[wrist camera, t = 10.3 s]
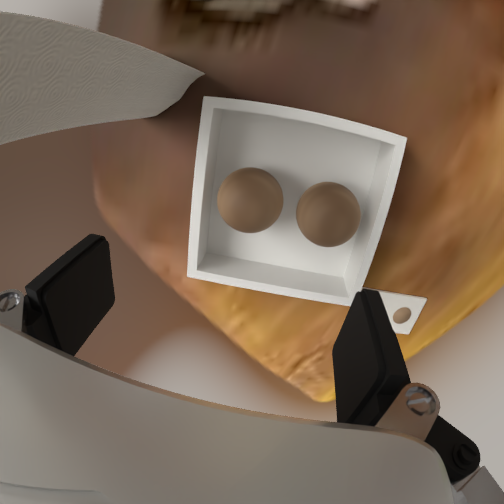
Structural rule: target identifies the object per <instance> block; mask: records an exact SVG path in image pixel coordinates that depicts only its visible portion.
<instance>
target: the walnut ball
mask: <svg viewBox="0 0 504 504" xmlns="http://www.w3.org/2000/svg"><path fill="white" fill-rule="evenodd" d="M217 206H218V210H219V213H220V215H221V217H222V218H223V220H224V221H225V222H226V223H227V224H228V225H229V226H230V227H232V228H233V229H235V230H237V231H240V232H243V233H257V232H261V231H263V230H266V229H267V228H269V227H270V226H272V225H273V224H274V223H275V222H276V220H277V219H278V218H279V216H280V214H281V211H282V208H283V192H282V189H281V187H280V184H279V183H278V181H277V180H276V179H275V178H274V177H273V176H272V175H271V174H270V173H268V172H266V171H265V170H262V169H259V168H254V167H246V168H241V169H238V170H236V171H234V172H232V173H231V174H230V175H228V176H227V177H226V178H225V179H224V181H223V182H222V184H221V186H220V188H219V191H218V195H217Z"/></svg>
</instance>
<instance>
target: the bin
mask: <svg viewBox="0 0 504 504" xmlns="http://www.w3.org/2000/svg"><path fill="white" fill-rule="evenodd" d="M406 141H407V138H406V137H403V136H400V135H397V134H394V133H391V132H388V131H384V130H381V129H378V128H375V127H371V126H368V125H364V124H361V123H357V122H353V121H349V120H346V119H342V118H338V117H334V116H329V115H325V114H321V113H316V112H311V111H307V110H302V109H296V108H291V107H286V106H280V105H274V104H268V103H261V102H254V101H247V100H239V99H230V98H221V97H210V96H204V98H203V105H202V112H201V120H200V127H199V136H198V144H197V153H196V162H195V172H194V183H193V194H192V206H191V219H190V233H189V249H188V269H187V277H191V278H196V279H201V280H206V281H211V282H216V283H221V284H226V285H231V286H236V287H242V288H247V289H252V290H258V291H263V292H269V293H274V294H280V295H285V296H291V297H297V298H303V299H309V300H315V301H321V302H327V303H333V304H339V305H345V306H351V304H352V302H353V299H354V297H355V294H356V293H357V292H358V291H359V292H360V291H361V289H362V286H363V284H364V281H365V278H366V276H367V273H368V270H369V268H370V265H371V262H372V259H373V256H374V254H375V251H376V248H377V245H378V242H379V239H380V236H381V233H382V230H383V226H384V223H385V220H386V217H387V213H388V210H389V207H390V203H391V200H392V196H393V193H394V189H395V186H396V182H397V178H398V174H399V170H400V166H401V162H402V158H403V154H404V150H405V145H406ZM246 167H254V168H259V169H262V170H265V171H266V172H268V173H270V174H271V175H272V176H273V177H274V178H275V179H276V180H277V181H278V183H279V184H280V187H281V189H282V192H283V208H282V211H281V214H280V216H279V218H278V219H277V220H276V222H275V223H274V224H273V225H272V226H270V227H269V228H267V229H266V230H263V231H261V232H257V233H243V232H240V231H237V230H235V229H233V228H232V227H230V226H229V225H228V224H227V223H226V222H225V221H224V220H223V218H222V217H221V215H220V213H219V210H218V206H217V195H218V191H219V188H220V186H221V184H222V182H223V181H224V179H225V178H226V177H227V176H228V175H230V174H231V173H232V172H234V171H236V170H238V169H241V168H246ZM321 182H335V183H338V184H341V185H343V186H345V187H346V188H348V189H349V190H350V191H351V192H352V193H353V194H354V196H355V197H356V199H357V201H358V203H359V206H360V212H361V219H360V224H359V227H358V229H357V231H356V233H355V234H354V235H353V237H352V238H351V239H350V240H348V241H347V242H345V243H344V244H342V245H339V246H335V247H322V246H318V245H316V244H314V243H312V242H311V241H309V240H308V239H307V238H306V237H305V236H304V235H303V234H302V232H301V231H300V229H299V227H298V224H297V220H296V208H297V204H298V201H299V199H300V197H301V196H302V194H303V193H304V192H305V191H306V190H307V189H308V188H310V187H311V186H313V185H315V184H317V183H321Z"/></svg>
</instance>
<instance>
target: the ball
mask: <svg viewBox="0 0 504 504" xmlns="http://www.w3.org/2000/svg"><path fill="white" fill-rule="evenodd" d="M360 219H361V212H360V206H359V203H358V201H357V199H356V197H355V196H354V194H353V193H352V192H351V191H350V190H349V189H348V188H346V187H345V186H343V185H341V184H338V183H335V182H321V183H317V184H315V185H313V186H311V187H310V188H308V189H307V190H306V191H305V192H304V193H303V194H302V196H301V197H300V199H299V201H298V204H297V208H296V220H297V224H298V227H299V229H300V231H301V232H302V234H303V235H304V236H305V237H306V238H307V239H308V240H309V241H311V242H312V243H314V244H316V245H318V246H322V247H335V246H339V245H342V244H344V243H345V242H347V241H348V240H350V239H351V238H352V237H353V235H354V234H355V233H356V231H357V229H358V227H359V224H360Z"/></svg>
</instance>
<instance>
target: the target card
mask: <svg viewBox="0 0 504 504" xmlns="http://www.w3.org/2000/svg"><path fill="white" fill-rule="evenodd" d="M364 288H365V287H362V289H364ZM362 289H361V291H362ZM365 289H371V288H365ZM371 290H376V291H379V293H380V295H381V298H382V301H383V303H384V306H385V309H386V311H387V314H388V317H389V320H390V323H391V325H392V328H393V330H394V332H395V333H401V334H409V333H410V331H411V329H412V327H413V325H414V324H415V322H416V320H417V318H418V316H419V314H420V312H421V310H422V308H423V306H424V304H425V302H426V300H427V298H425V297H419V296H413V295H407V294H401V293H395V292H389V291H383V290H377V289H371ZM361 291H360V292H361Z"/></svg>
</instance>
